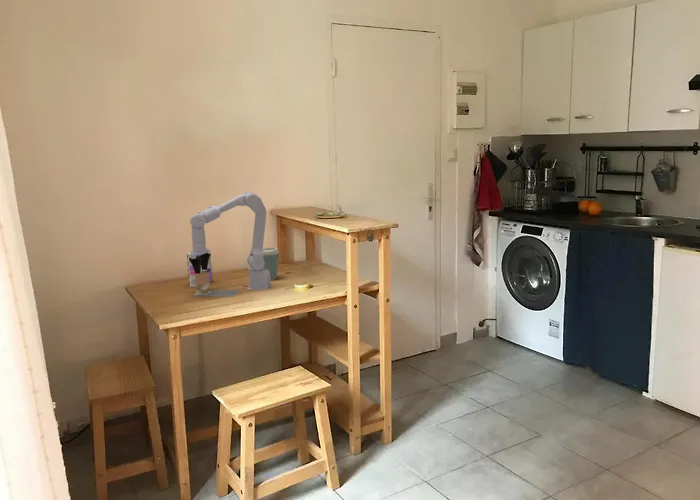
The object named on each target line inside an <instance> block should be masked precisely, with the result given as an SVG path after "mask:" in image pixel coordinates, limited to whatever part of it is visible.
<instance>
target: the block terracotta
mask: <svg viewBox="0 0 700 500" xmlns="http://www.w3.org/2000/svg"><path fill="white" fill-rule="evenodd" d="M195 281H196V284H207V283H209V284H210V282H209V272H200V274H195Z"/></svg>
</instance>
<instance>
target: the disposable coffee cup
mask: <svg viewBox="0 0 700 500" xmlns="http://www.w3.org/2000/svg"><path fill="white" fill-rule="evenodd" d="M279 253H280V252H279V248H277V247H273V246H272V247H271V246H269V247H263V259H264V262H265V265H264V269H266V270H269V271H270V281H273V280H276V279H277V276H278V265H279Z"/></svg>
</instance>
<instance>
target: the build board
mask: <svg viewBox="0 0 700 500" xmlns="http://www.w3.org/2000/svg"><path fill="white" fill-rule="evenodd" d="M240 292H241V290H237V289H235V290H233V289H230V290H227V289H210V292H209V293H207V294H196V293H194V294H192V295H191V297H209V298H210V297H217V298H219V297H221V298H225V297H227V298H233V297H234V296H236V295H238V294H239V293H240Z"/></svg>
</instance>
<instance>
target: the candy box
mask: <svg viewBox="0 0 700 500" xmlns="http://www.w3.org/2000/svg"><path fill="white" fill-rule="evenodd" d="M208 253H211V248H208ZM191 254H192V253H191V252H189V253H187V254H186V260H187V273H188V287H189V288H191V287H192V288H196V285H195V284H196V281H195V272H194V268H193V266H192V264H191V262H190V261H189V258H191ZM198 258H199V257H198ZM212 270H213V269H212V256H210V258H209V261H208V267H207V270H202V267H201V272H209V283H212V282H213V271H212Z"/></svg>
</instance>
